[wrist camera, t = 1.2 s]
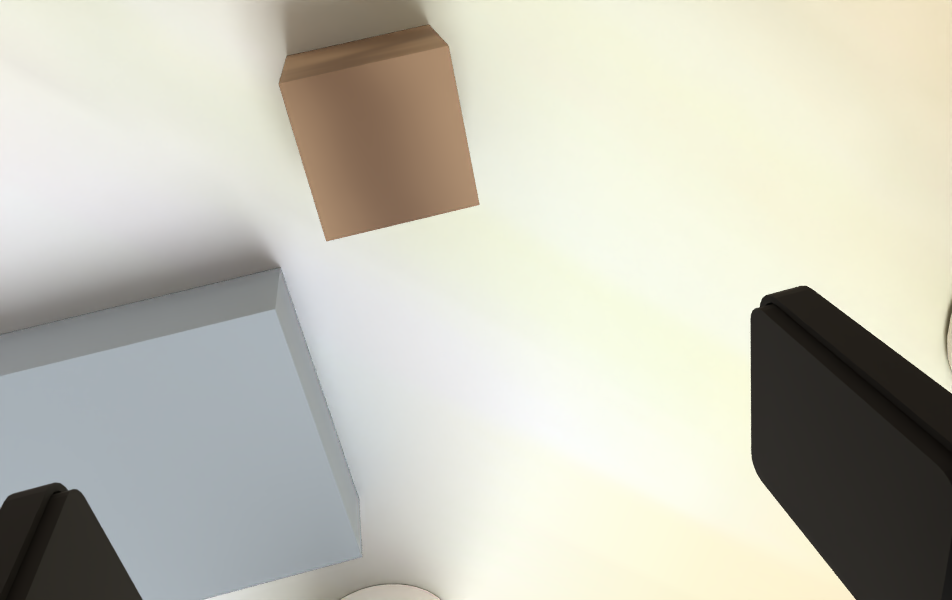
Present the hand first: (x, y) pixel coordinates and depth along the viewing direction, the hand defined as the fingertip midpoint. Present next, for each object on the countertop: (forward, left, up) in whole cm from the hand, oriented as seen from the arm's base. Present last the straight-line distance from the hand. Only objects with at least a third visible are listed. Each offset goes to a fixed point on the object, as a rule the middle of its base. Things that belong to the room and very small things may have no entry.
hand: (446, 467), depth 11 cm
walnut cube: (0, 0, -20) cm, 20 cm away
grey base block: (+11, +11, -20) cm, 25 cm away
